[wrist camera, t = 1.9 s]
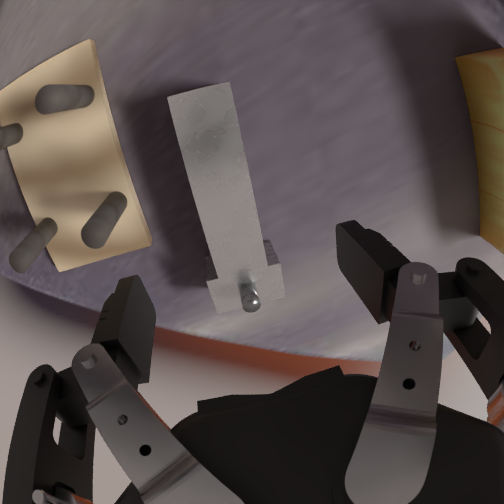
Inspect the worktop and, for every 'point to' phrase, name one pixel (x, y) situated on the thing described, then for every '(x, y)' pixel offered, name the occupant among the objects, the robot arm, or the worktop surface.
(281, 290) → the grey pegged bar
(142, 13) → the worktop surface
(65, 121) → the rack
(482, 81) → the bread
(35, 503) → the robot arm
